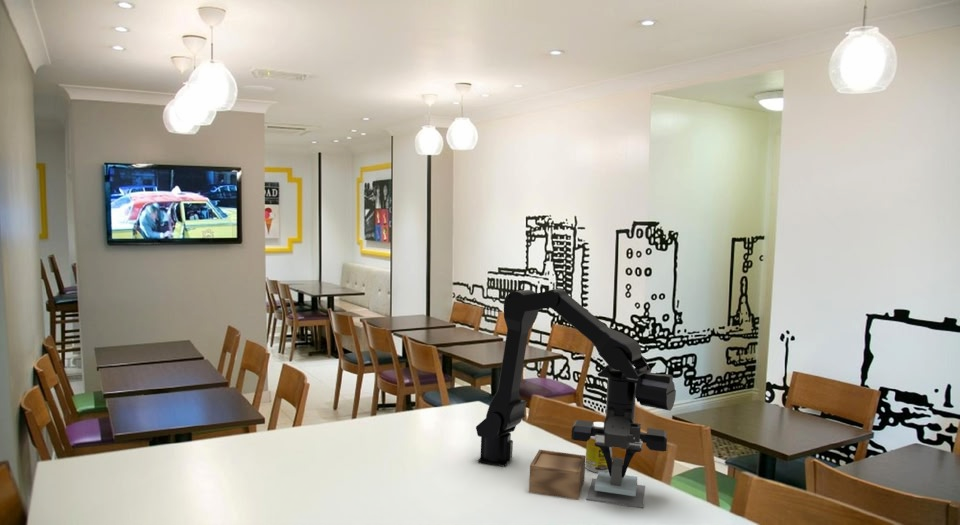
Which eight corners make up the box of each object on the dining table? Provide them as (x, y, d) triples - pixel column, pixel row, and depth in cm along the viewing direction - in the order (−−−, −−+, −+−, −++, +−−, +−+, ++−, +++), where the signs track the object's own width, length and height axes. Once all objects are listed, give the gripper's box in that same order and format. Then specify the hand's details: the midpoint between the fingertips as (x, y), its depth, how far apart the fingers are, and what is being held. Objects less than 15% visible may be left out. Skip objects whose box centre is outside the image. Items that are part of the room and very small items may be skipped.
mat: (586, 499, 130) (586, 498, 130) (592, 479, 141) (592, 478, 141) (643, 508, 127) (643, 506, 127) (644, 487, 138) (644, 485, 138)
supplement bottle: (597, 475, 144) (599, 429, 143) (580, 466, 148) (582, 422, 148) (615, 470, 147) (617, 425, 146) (598, 462, 151) (600, 419, 151)
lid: (594, 490, 131) (595, 465, 131) (598, 475, 139) (599, 452, 139) (635, 496, 129) (636, 471, 129) (637, 481, 137) (638, 457, 136)
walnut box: (528, 492, 133) (530, 465, 133) (538, 474, 143) (539, 449, 142) (578, 499, 130) (579, 472, 130) (584, 481, 140) (585, 455, 140)
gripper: (569, 406, 128) (565, 484, 129) (668, 417, 123) (664, 498, 124) (576, 392, 139) (573, 464, 140) (668, 402, 134) (664, 477, 135)
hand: (616, 476), depth 134 cm, fingers closed on lid
